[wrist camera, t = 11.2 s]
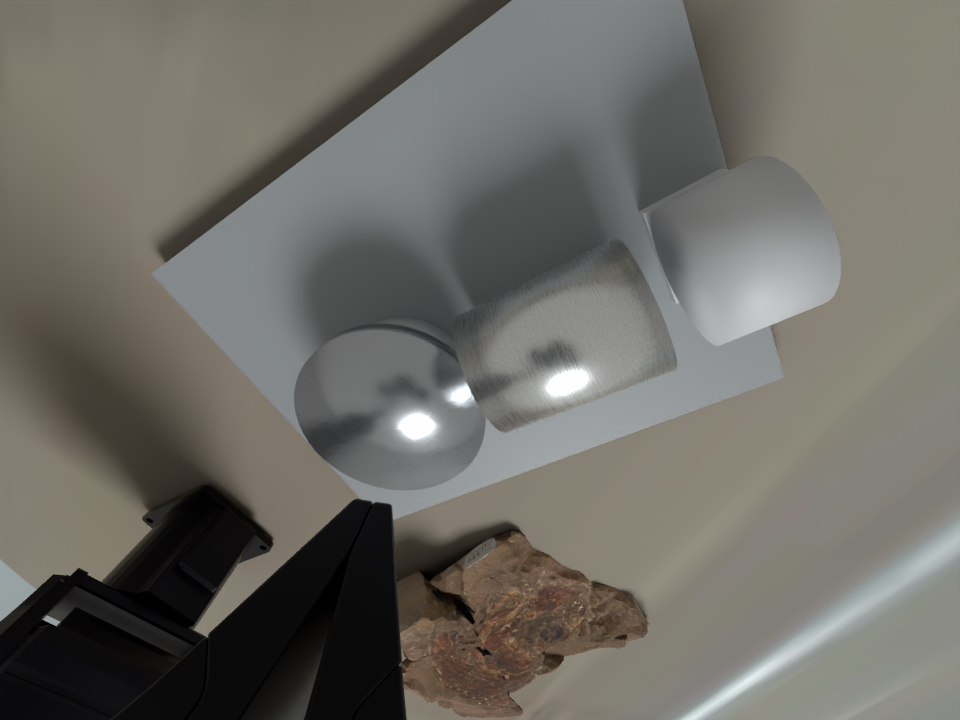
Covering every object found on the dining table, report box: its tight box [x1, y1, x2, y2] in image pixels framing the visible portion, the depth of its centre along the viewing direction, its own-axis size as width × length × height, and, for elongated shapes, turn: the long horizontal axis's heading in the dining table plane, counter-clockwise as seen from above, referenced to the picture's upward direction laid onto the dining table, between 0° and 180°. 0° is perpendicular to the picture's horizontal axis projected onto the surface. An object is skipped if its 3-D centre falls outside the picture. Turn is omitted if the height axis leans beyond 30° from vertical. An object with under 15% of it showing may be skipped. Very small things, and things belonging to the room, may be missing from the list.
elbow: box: [294, 237, 677, 491], centre depth 16 cm, size 15×8×5 cm, turn 118°
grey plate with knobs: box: [152, 0, 841, 520], centre depth 16 cm, size 23×18×6 cm
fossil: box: [397, 530, 649, 718], centre depth 28 cm, size 20×16×5 cm
